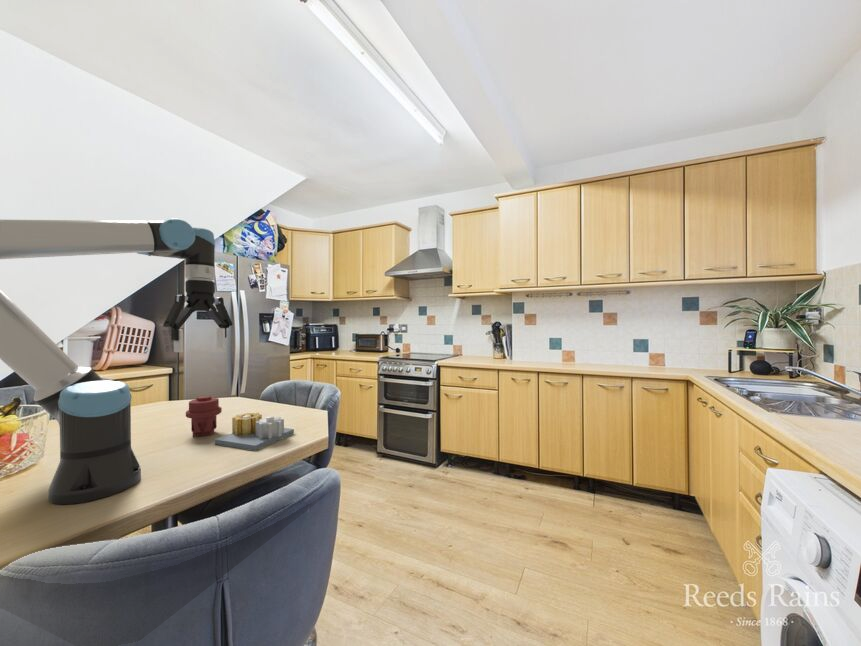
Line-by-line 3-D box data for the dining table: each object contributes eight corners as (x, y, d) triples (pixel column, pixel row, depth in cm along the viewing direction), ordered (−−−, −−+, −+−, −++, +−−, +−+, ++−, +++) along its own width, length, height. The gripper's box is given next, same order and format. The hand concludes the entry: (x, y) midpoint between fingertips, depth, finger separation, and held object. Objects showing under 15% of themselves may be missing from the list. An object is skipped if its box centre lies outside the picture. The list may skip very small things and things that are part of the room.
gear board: (257, 451, 101) (257, 426, 101) (214, 444, 107) (214, 421, 107) (295, 433, 116) (295, 412, 116) (256, 428, 122) (256, 408, 122)
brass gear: (246, 437, 109) (246, 421, 109) (226, 433, 112) (226, 418, 112) (267, 429, 117) (267, 414, 117) (248, 426, 120) (248, 411, 120)
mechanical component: (201, 428, 122) (228, 429, 121) (178, 438, 112) (207, 439, 111) (201, 393, 122) (228, 394, 121) (177, 400, 112) (206, 400, 111)
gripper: (166, 275, 94) (166, 354, 94) (244, 283, 117) (244, 347, 118) (147, 276, 96) (148, 353, 96) (227, 284, 120) (227, 346, 120)
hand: (201, 350), depth 107 cm, fingers open, 13 cm apart
